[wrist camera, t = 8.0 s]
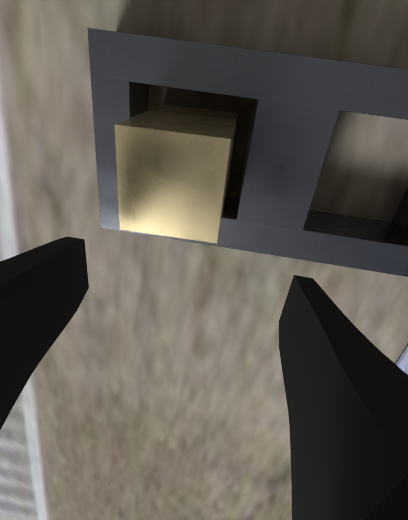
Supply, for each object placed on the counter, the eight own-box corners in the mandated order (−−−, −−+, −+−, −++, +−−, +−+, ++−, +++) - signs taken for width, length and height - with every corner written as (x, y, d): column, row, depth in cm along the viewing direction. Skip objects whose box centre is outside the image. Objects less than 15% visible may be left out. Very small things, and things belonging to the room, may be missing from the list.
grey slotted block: (496, 84, 15) (549, 87, 12) (408, 252, 19) (432, 280, 17) (114, 34, 15) (87, 27, 13) (119, 207, 20) (100, 227, 18)
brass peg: (237, 113, 17) (230, 139, 11) (227, 187, 19) (216, 243, 13) (162, 104, 17) (114, 124, 11) (160, 178, 19) (119, 229, 13)
